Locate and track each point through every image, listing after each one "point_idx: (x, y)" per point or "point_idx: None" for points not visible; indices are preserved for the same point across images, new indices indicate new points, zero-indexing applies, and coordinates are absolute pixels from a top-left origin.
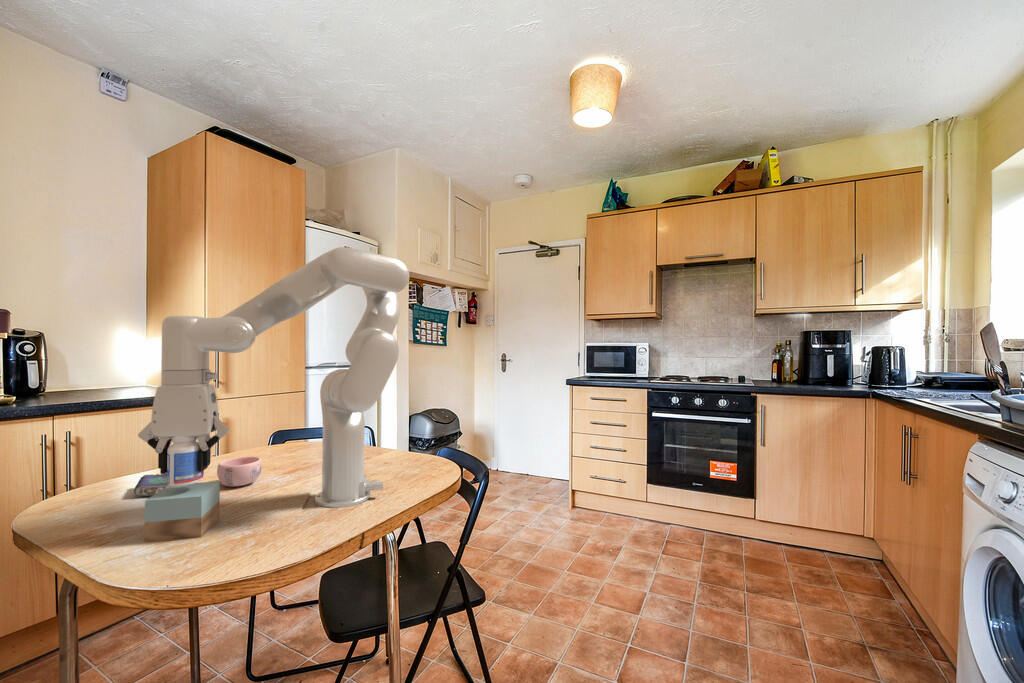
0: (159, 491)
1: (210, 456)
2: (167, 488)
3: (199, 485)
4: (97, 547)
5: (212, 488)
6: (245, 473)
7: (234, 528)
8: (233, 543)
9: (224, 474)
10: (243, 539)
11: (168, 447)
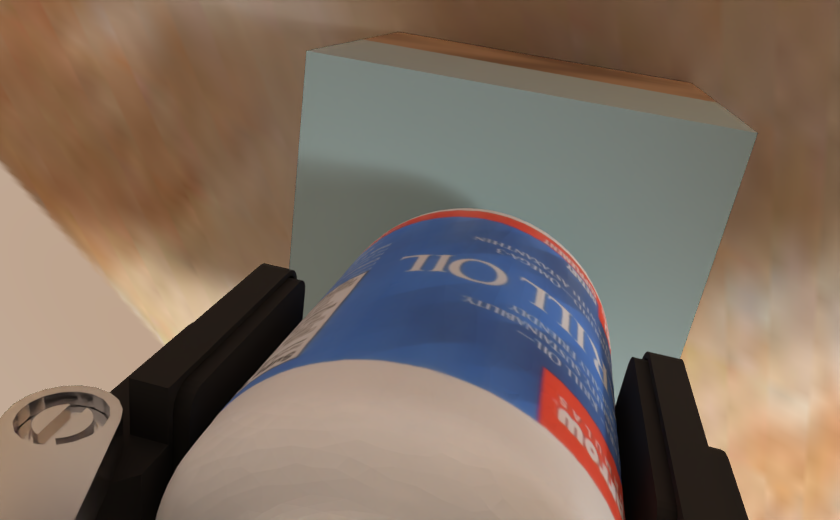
0: (294, 228)
1: (743, 508)
2: (328, 167)
3: (576, 196)
4: (178, 226)
5: (694, 305)
6: None
7: (783, 284)
8: (771, 476)
9: None
10: (822, 456)
11: (129, 501)
